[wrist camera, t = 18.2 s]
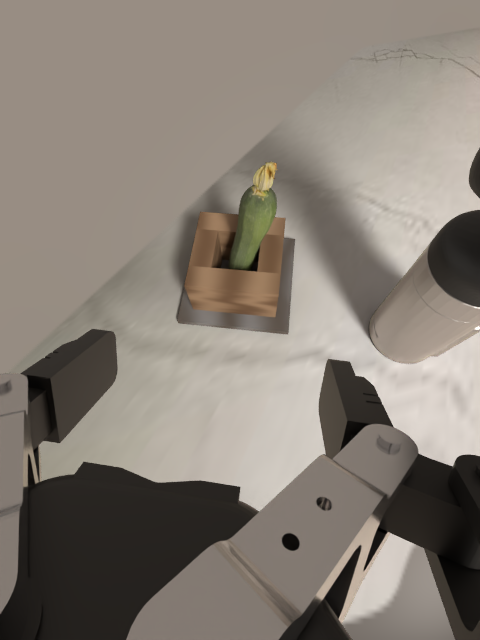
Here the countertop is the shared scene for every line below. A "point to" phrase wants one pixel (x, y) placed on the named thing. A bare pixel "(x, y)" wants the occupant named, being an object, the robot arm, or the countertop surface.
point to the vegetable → (254, 218)
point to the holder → (238, 279)
